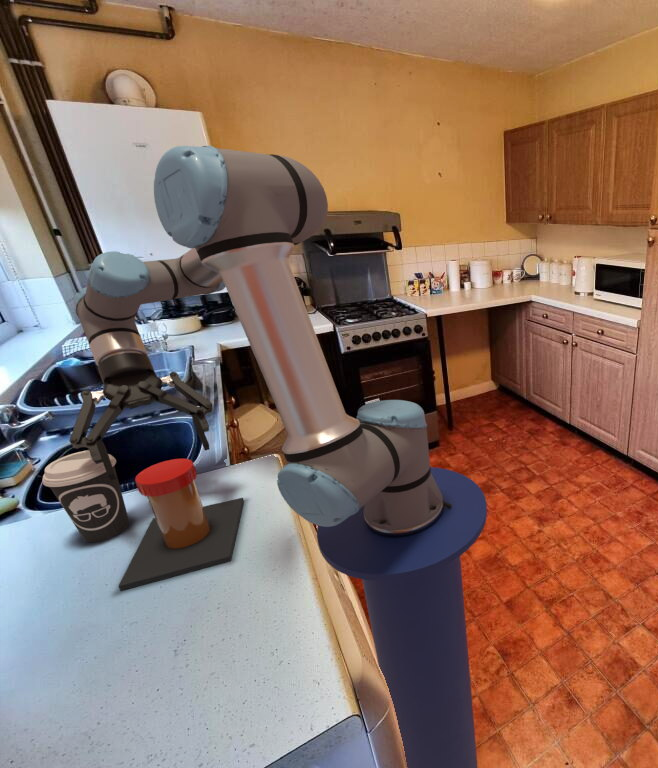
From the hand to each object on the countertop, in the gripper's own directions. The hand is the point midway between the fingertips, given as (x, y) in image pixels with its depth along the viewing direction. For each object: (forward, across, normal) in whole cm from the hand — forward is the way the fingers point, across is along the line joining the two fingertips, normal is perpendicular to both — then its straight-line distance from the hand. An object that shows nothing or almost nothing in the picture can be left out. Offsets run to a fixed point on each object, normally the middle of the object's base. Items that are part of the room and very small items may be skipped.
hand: (162, 461), depth 77 cm
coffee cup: (+4, +11, -16) cm, 20 cm away
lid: (+4, 0, +4) cm, 6 cm away
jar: (+13, 0, -5) cm, 14 cm away
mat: (+14, 0, -5) cm, 15 cm away
